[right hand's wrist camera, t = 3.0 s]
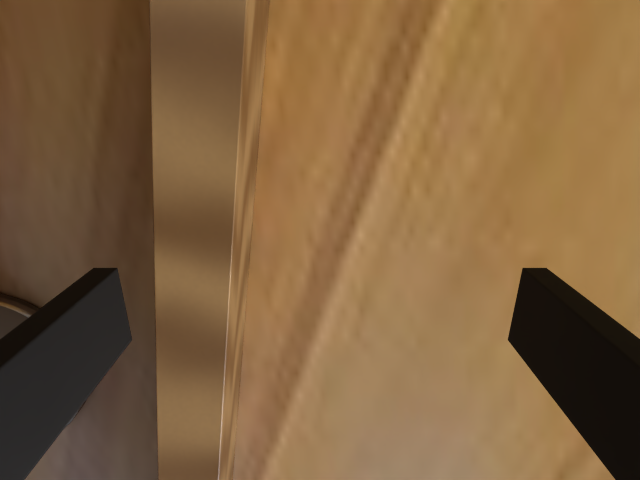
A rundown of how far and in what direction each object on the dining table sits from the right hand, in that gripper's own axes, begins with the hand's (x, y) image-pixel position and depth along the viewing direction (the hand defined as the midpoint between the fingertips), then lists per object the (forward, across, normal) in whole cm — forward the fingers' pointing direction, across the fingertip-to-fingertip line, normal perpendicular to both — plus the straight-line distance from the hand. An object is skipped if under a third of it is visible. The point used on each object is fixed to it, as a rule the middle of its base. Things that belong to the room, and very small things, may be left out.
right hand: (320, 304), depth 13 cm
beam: (+17, -10, -19) cm, 28 cm away
